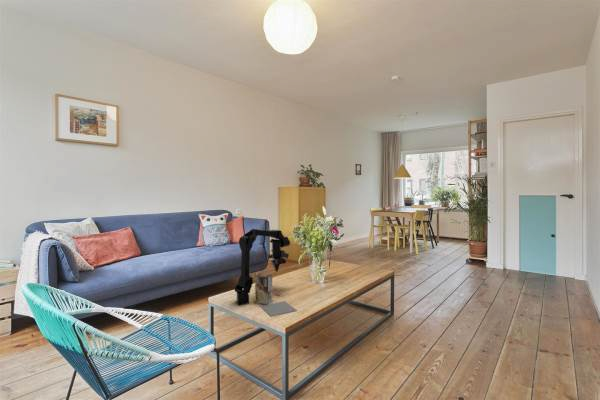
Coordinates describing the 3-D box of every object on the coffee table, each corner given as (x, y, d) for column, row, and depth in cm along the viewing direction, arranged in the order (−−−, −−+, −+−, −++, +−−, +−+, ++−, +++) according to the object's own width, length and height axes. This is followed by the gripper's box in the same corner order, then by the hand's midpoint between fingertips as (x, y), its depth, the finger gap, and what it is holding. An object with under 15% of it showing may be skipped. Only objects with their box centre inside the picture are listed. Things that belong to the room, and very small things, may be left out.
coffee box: (273, 300, 186) (272, 274, 185) (268, 304, 180) (268, 277, 179) (259, 298, 189) (259, 273, 188) (254, 302, 183) (254, 276, 182)
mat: (270, 316, 163) (270, 316, 163) (259, 306, 177) (259, 305, 177) (296, 310, 170) (296, 310, 170) (284, 301, 184) (284, 301, 184)
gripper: (293, 249, 198) (293, 273, 199) (281, 245, 215) (282, 266, 215) (277, 251, 193) (277, 275, 194) (267, 246, 210) (267, 268, 210)
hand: (276, 271), depth 203 cm, fingers closed
